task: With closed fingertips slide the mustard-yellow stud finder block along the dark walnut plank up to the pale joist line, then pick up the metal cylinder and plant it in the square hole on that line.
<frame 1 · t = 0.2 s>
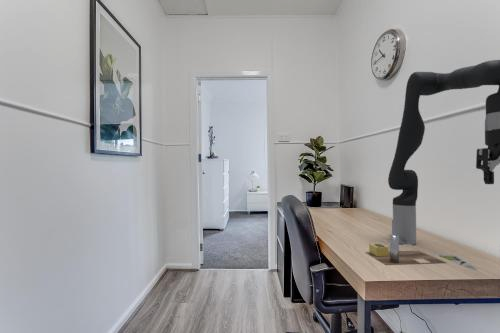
metal cylinder: (394, 261, 92), point 1 cm above the table, touching board
handheld gaming device: (452, 262, 97), on the table
board: (403, 261, 97), on the table
stud finder: (378, 249, 100), point 3 cm above the table, slide at 0.0 cm
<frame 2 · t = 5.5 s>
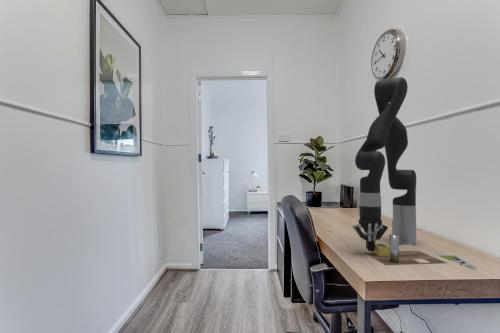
hand: (370, 250, 100), 3 cm above the table, tool pointing down, fingers closed
stud finder: (381, 249, 100), point 3 cm above the table, slide at 1.1 cm, touching gripper
everything else where it was.
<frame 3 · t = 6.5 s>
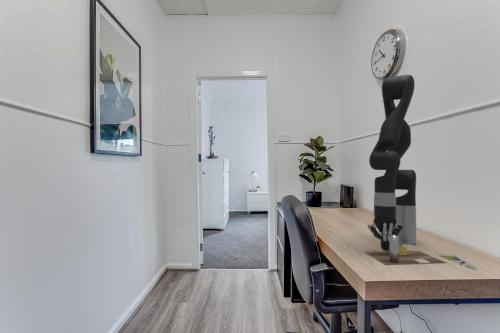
hand: (385, 250, 101), 3 cm above the table, tool pointing down, fingers closed
stud finder: (396, 248, 101), point 3 cm above the table, slide at 6.9 cm, touching gripper
everything else where it was.
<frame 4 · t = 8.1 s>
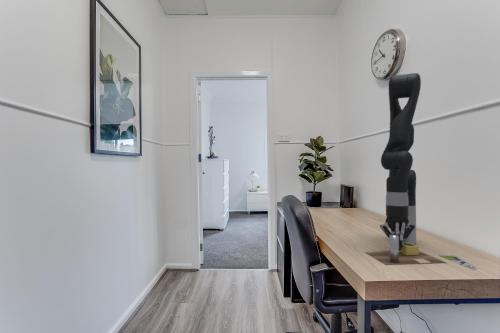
hand: (397, 249, 101), 3 cm above the table, tool pointing down, fingers closed
stud finder: (407, 248, 101), point 3 cm above the table, slide at 11.6 cm, touching gripper
everything else where it was.
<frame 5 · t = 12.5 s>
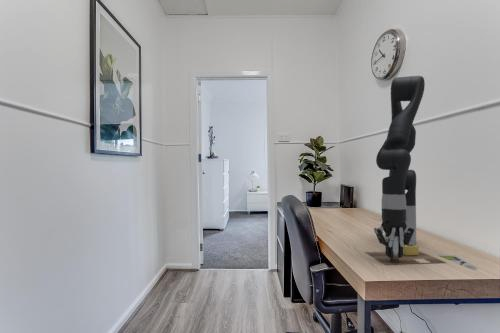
hand: (394, 256, 92), 3 cm above the table, tool pointing down, fingers closed on metal cylinder, 2 cm apart
metal cylinder: (394, 261, 92), point 2 cm above the table, touching board, gripper
stud finder: (407, 248, 101), point 3 cm above the table, slide at 11.6 cm
everything else where it was.
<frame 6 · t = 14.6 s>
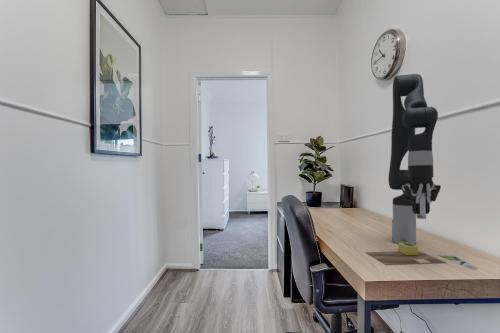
hand: (421, 213, 93), 18 cm above the table, tool pointing down, fingers closed on metal cylinder, 2 cm apart
metal cylinder: (421, 218, 93), point 16 cm above the table, touching gripper
everything else where it was.
when the fingers open (2 cm above the table, at t = 16.7 s): metal cylinder stays where it is, resting in board.
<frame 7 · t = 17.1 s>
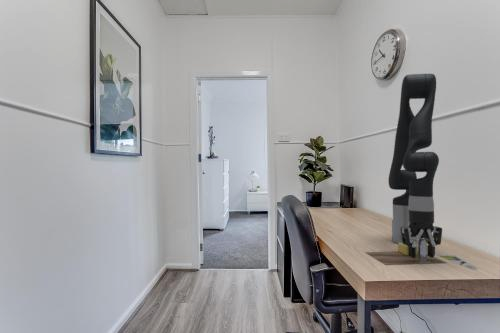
hand: (421, 256, 93), 3 cm above the table, tool pointing down, fingers open, 6 cm apart
metal cylinder: (422, 265, 93), resting in board
everything else where it was.
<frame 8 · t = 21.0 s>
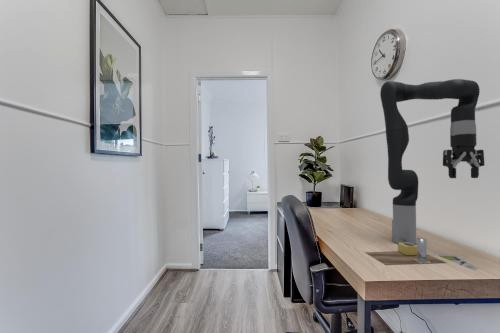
hand: (463, 178, 98), 30 cm above the table, tool pointing down, fingers open, 8 cm apart
nothing on the table moved.
at the end: stud finder slide at 11.6 cm; metal cylinder 0.1 cm from the target spot on the board, point 0.0 cm above the board's base; metal cylinder tilted 0° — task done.
